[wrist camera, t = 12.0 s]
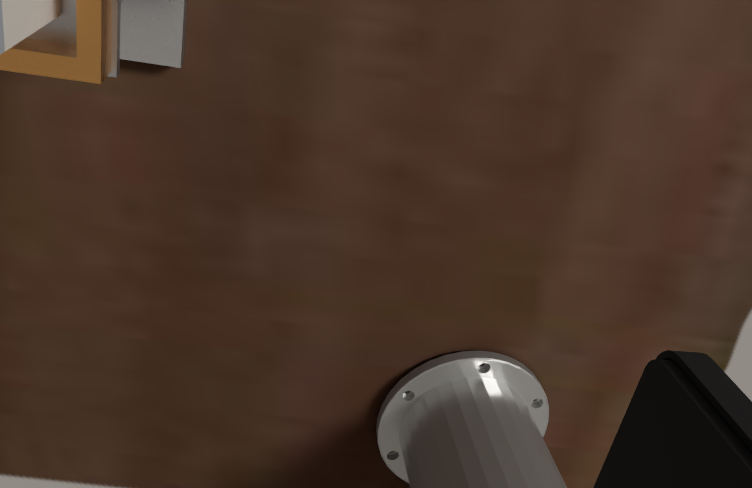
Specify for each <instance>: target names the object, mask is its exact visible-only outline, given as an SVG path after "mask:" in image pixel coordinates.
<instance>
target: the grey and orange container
mask: <svg viewBox="0 0 752 488" xmlns="http://www.w3.org/2000/svg"><path fill="white" fill-rule="evenodd" d="M60 8H61V15H60V16H59V17H57V18H56V19H54V20H52V21H51V22H49V23H48V24H46V25H45V26H43V27H42V28H40V29H39V30H37V31H36V32H34V33H33V34H31V35H30V36H28V37H27V38H25V39H24V40H22V41H20V42H19V43H17V44H16V45H14V46H13V47H11V48H10V49H8V50H7V51H5V52H4V53H2V54H1V55H0V70H5V71H12V72H19V73H26V74H33V75H40V76H47V77H55V78H62V79H69V80H76V81H83V82H90V83H97V84H101V83H102V82H103V81H104V79H105V78H106V77H107V76H109V77H117V76H118V75H119V71H120V59H123V60H130V61H137V62H144V63H150V64H157V65H164V66H171V67H177V68H181V66H182V64H183V62H184V49H185V33H186V16H187V0H60Z"/></svg>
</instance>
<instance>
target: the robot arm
mask: <svg viewBox="0 0 752 488" xmlns="http://www.w3.org/2000/svg"><path fill="white" fill-rule="evenodd" d="M548 421H549V405H548V401H547V397H546V394H545V392H544V390H543V388H542V386H541V384H540V382H539V381H538V379H537V378H536V377H535V375H534V374H533V372H532V371H530V370H529V369H528V368H527V367H526V366H525V365H523V364H522V363H520V362H518V361H517V360H515V359H513V358H511V357H509V356H505V355H502V354H499V353H495V352H487V351H462V352H457V353H452V354H448V355H444V356H441V357H438V358H436V359H433V360H430V361H428V362H426V363H424V364H422V365H421V366H419V367H417V368H415V369H413V370H412V371H411V372H410V373H408V374H407V375H406V376H404V377H403V378H402V379H401V380H400V381H399V382H398V383H397V384H396V385H395V386H394V387H393V388H392V389H391V391H390V392H389V393H388V395H387V397H386V398H385V400H384V402H383V403H382V405H381V408H380V411H379V414H378V417H377V425H376V434H377V441H378V446H379V450H380V453H381V456H382V458H383V460H384V462H385V463H386V465H387V467H388V468H389V469H390V470H391V471H392V472H393V473H394V474H395V475H396V476H398V477H399V478H401V479H402V480H404V481H405V482H407V483H409V485H410V488H567V487H566V485H565V483H564V481H563V479H562V477H561V475H560V473H559V471H558V469H557V466H556V464H555V462H554V460H553V458H552V456H551V454H550V452H549V450H548V448H547V446H546V444H545V442H544V440H543V436H544V434H545V432H546V428H547V425H548ZM594 488H752V402H751V401H750V399H748V397H747V396H746V395H745V394H744V393H743V392H742V391H741V390H740V389H739V388H738V386H737V385H736V384H735V383H734V382H733V381H732V380H731V379H730V378H729V377H728V376H727V375H726V374H725V372H724V371H723V370H722V369H721V368H720V367H719V366H718V365H717V364H716V363H715V362H714V361H713V359H712V358H710V357H709V356H708V355H706V354H703V353H696V352H683V351H670V350H668V351H664V352H662V353H661V354H659V355H658V356H657V358H656V359H655V360H651V361H650V362H649V363H648V364H647V366H646V367H645V369H644V372H643V374H642V376H641V379H640V381H639V383H638V386H637V388H636V390H635V392H634V395H633V397H632V399H631V402H630V404H629V406H628V409H627V411H626V413H625V416H624V418H623V420H622V423H621V425H620V427H619V430H618V432H617V434H616V437H615V439H614V441H613V444H612V446H611V448H610V451H609V453H608V455H607V457H606V460H605V462H604V464H603V467H602V469H601V471H600V474H599V476H598V478H597V481H596V483H595V485H594Z"/></svg>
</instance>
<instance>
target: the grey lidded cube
mask: <svg viewBox="0 0 752 488" xmlns="http://www.w3.org/2000/svg"><path fill="white" fill-rule="evenodd" d="M60 15H61V8H60V0H0V55H1V54H2V53H4V52H5V51H7V50H8V49H10V48H11V47H13V46H14V45H16V44H17V43H19V42H20V41H22V40H24V39H25V38H27V37H28V36H30V35H31V34H33V33H34V32H36V31H37V30H39V29H40V28H42V27H43V26H45V25H46V24H48V23H49V22H51V21H52V20H54V19H56V18H57V17H59V16H60Z"/></svg>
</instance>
